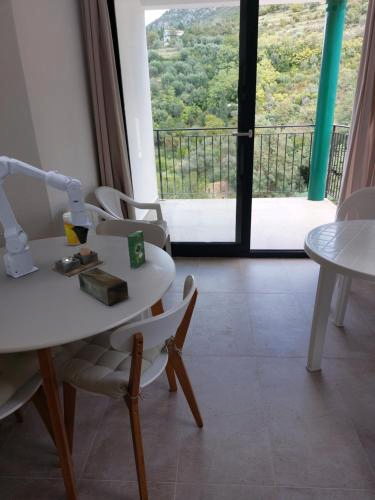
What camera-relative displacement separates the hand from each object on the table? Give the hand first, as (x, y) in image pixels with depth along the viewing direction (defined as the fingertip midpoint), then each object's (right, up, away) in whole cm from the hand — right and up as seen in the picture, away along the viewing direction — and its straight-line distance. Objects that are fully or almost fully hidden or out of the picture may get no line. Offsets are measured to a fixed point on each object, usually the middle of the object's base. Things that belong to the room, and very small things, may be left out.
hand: (83, 243), depth 137 cm
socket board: (-2, -9, 0) cm, 9 cm away
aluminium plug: (-5, -9, -3) cm, 11 cm away
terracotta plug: (0, -6, +2) cm, 6 cm away
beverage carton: (+14, -18, -22) cm, 31 cm away
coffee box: (+22, -9, -1) cm, 24 cm away
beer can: (-12, 0, +25) cm, 28 cm away
